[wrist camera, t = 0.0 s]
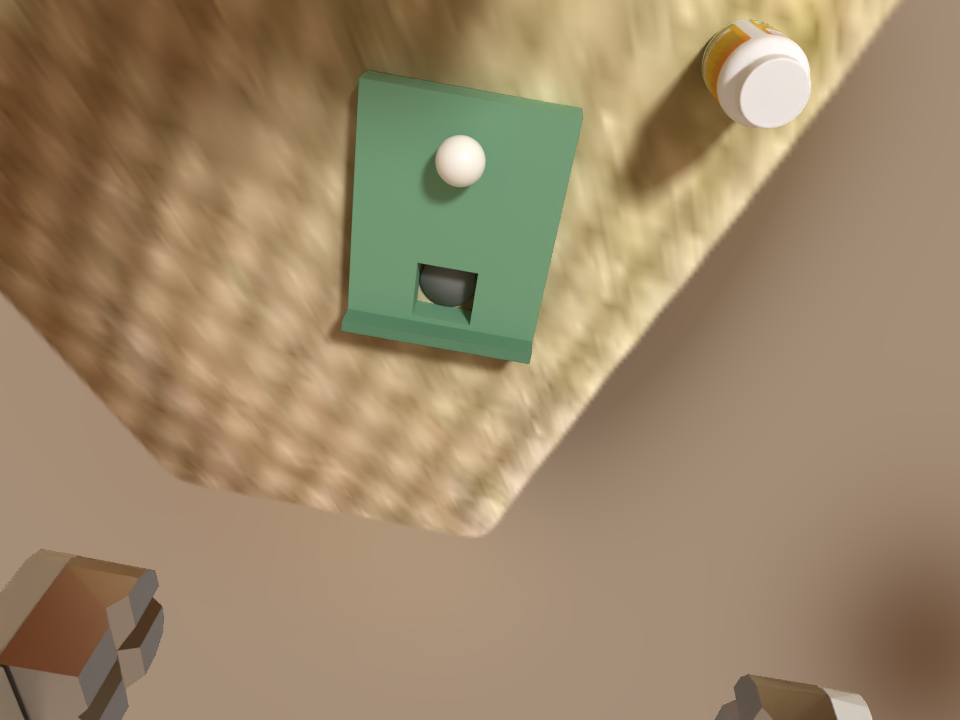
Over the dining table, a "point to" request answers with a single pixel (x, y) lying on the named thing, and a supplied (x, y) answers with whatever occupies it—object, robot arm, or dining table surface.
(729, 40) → the supplement bottle
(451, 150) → the ball
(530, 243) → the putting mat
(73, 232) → the dining table surface
